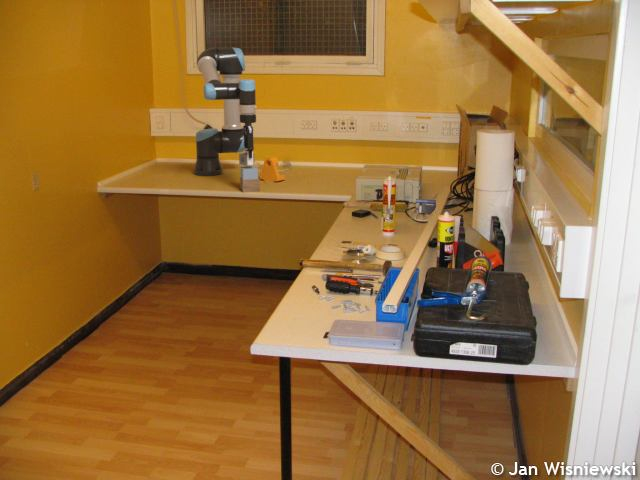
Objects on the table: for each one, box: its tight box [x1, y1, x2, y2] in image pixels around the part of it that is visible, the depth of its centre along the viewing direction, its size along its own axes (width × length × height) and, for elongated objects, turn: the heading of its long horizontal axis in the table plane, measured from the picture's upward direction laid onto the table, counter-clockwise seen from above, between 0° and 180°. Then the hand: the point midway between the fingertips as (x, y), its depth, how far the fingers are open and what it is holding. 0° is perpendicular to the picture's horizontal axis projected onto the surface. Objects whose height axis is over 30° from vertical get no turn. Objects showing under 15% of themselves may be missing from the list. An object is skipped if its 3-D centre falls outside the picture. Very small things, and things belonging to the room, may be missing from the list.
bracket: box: [259, 156, 286, 183], centre depth 342 cm, size 11×7×12 cm, turn 57°
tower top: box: [240, 165, 259, 180], centre depth 319 cm, size 7×7×5 cm
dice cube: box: [238, 152, 255, 166], centre depth 316 cm, size 5×5×5 cm
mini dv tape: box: [414, 198, 437, 215], centre depth 277 cm, size 8×2×6 cm, turn 78°
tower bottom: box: [239, 176, 261, 193], centre depth 321 cm, size 8×8×6 cm
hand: (249, 163), depth 318 cm, fingers closed on dice cube, 6 cm apart
